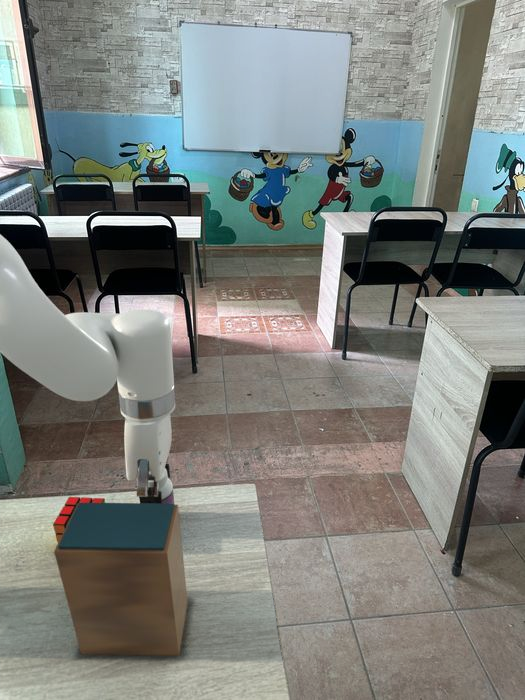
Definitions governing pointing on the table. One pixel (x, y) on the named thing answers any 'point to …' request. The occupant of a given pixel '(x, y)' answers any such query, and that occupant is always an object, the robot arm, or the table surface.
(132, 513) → the cloth
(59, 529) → the puzzle toy
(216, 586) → the table surface
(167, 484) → the pill bottle
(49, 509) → the table surface
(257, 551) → the table surface
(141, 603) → the stand
